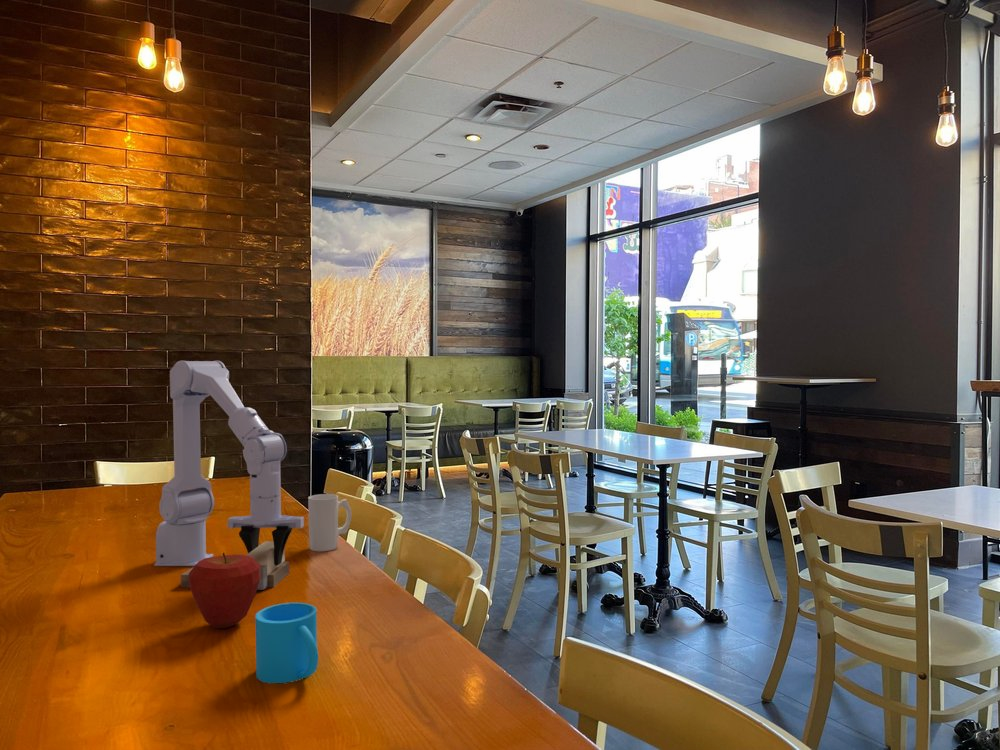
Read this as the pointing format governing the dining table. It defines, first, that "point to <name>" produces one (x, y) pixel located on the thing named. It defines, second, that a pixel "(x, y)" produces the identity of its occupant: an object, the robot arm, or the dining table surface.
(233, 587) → the apple
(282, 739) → the dining table surface
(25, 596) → the dining table surface
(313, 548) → the mug
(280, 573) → the plank
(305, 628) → the mug
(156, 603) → the dining table surface
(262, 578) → the stepped beige block
